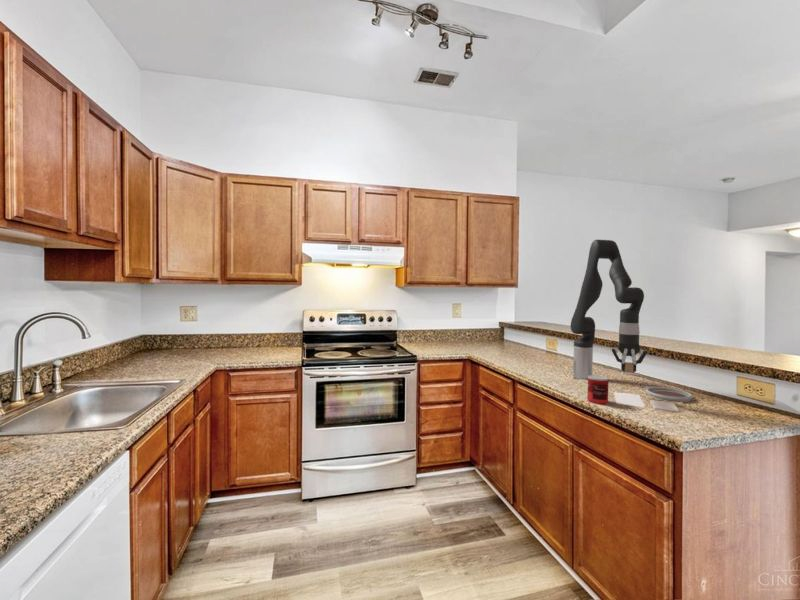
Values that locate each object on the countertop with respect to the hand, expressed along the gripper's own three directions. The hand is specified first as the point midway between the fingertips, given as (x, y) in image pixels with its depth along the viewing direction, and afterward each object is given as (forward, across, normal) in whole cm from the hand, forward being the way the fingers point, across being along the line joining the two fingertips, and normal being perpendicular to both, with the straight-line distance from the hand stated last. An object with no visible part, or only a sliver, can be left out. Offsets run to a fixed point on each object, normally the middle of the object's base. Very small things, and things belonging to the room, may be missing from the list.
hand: (628, 372), depth 160 cm
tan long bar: (0, 0, +3) cm, 3 cm away
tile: (+12, -12, +2) cm, 17 cm away
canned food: (+12, +12, +12) cm, 21 cm away
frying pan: (+13, -14, -16) cm, 25 cm away
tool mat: (+12, 0, +2) cm, 12 cm away
